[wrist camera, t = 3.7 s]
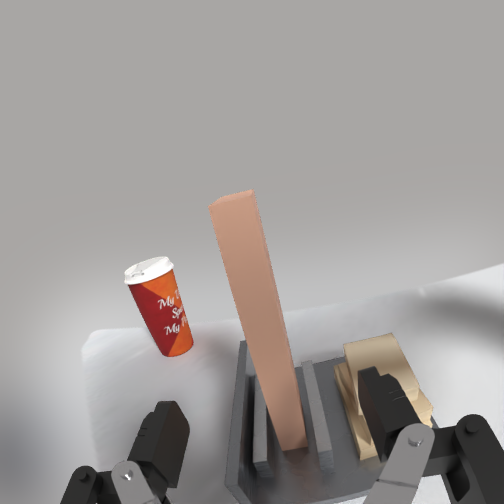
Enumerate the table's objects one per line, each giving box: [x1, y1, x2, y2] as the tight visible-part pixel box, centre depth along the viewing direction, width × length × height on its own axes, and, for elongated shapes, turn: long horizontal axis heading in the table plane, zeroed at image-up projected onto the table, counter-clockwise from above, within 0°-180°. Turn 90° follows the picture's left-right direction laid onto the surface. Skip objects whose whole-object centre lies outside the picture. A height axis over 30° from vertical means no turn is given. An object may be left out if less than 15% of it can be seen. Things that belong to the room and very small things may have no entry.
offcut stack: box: [333, 333, 433, 460], centre depth 21 cm, size 11×6×5 cm, turn 179°
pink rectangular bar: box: [208, 189, 308, 451], centre depth 19 cm, size 6×2×20 cm, turn 179°
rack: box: [225, 340, 439, 504], centre depth 21 cm, size 17×16×6 cm
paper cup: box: [125, 257, 193, 357], centre depth 41 cm, size 8×8×14 cm
